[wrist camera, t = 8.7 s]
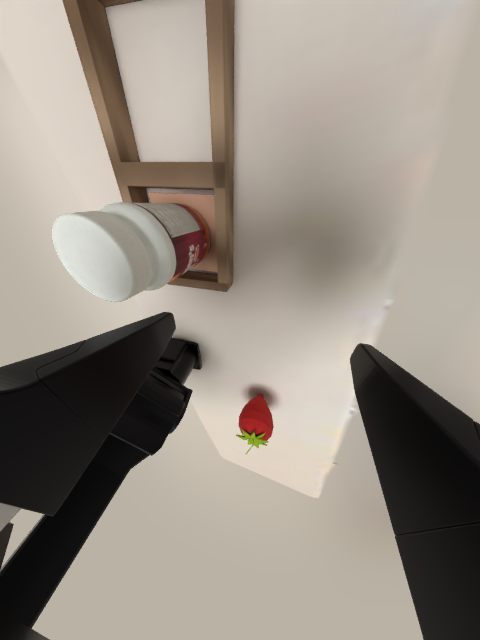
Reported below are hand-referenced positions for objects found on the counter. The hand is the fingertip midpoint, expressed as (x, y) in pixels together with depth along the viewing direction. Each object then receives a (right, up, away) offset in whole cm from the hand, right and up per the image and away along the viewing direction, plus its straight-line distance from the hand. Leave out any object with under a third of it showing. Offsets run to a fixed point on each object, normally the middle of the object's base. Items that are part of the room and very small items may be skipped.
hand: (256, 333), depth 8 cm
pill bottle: (-7, +10, +11) cm, 16 cm away
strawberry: (+3, -14, +25) cm, 29 cm away
